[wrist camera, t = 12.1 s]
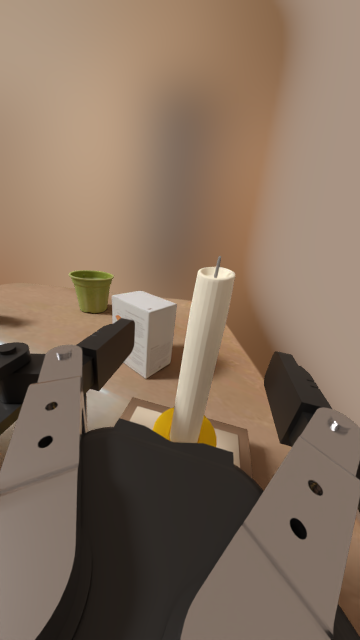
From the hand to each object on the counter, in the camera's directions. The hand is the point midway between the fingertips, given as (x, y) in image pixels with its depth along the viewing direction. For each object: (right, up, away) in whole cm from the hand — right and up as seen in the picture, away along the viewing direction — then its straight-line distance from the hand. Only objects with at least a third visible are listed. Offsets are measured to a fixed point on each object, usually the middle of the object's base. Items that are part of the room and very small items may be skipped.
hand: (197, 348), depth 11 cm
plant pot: (-23, +4, +37) cm, 43 cm away
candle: (-1, -10, +3) cm, 11 cm away
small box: (-7, -5, +20) cm, 22 cm away
